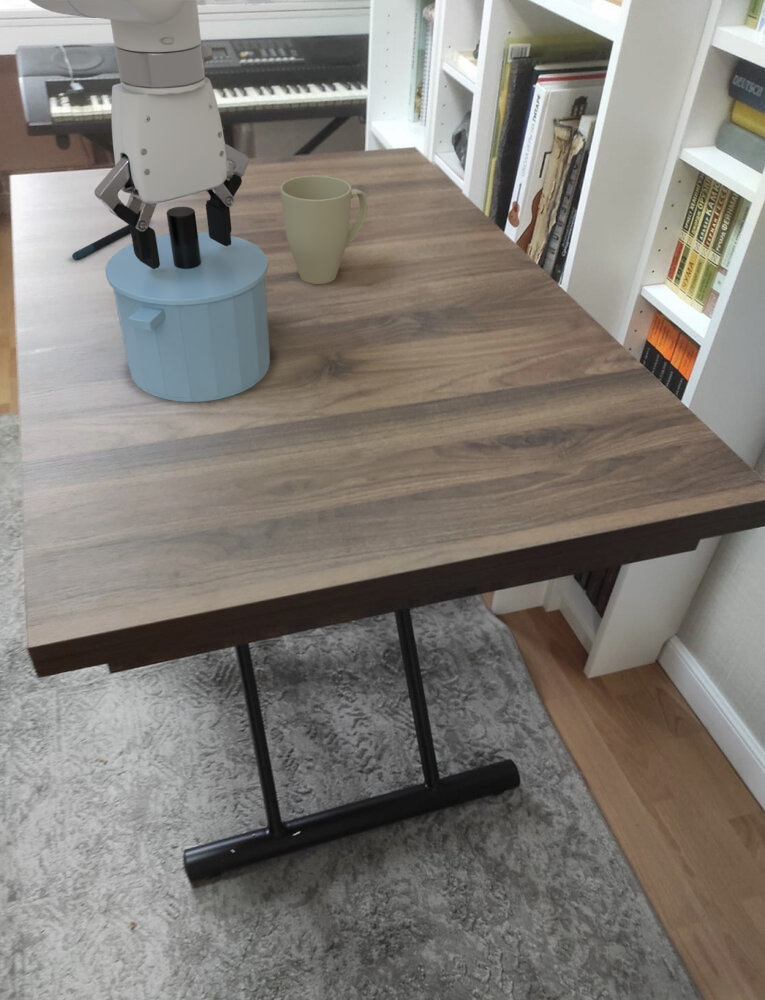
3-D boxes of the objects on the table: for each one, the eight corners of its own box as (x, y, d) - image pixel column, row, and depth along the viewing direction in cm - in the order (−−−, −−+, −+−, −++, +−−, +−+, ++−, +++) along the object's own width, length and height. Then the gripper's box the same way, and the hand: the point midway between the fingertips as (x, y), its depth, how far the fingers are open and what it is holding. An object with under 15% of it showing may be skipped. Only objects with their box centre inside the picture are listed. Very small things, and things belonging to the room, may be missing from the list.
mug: (349, 295, 109) (349, 204, 101) (276, 286, 110) (271, 196, 103) (367, 261, 117) (368, 174, 109) (299, 253, 119) (295, 167, 111)
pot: (89, 400, 89) (65, 300, 81) (181, 312, 104) (168, 222, 97) (224, 427, 85) (212, 326, 78) (298, 332, 101) (294, 241, 94)
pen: (150, 224, 126) (149, 216, 125) (78, 261, 115) (76, 253, 114) (144, 222, 126) (143, 214, 125) (72, 260, 115) (70, 251, 115)
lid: (75, 296, 83) (60, 230, 79) (156, 234, 96) (147, 174, 91) (227, 322, 80) (220, 255, 76) (291, 254, 92) (288, 194, 88)
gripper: (217, 46, 82) (233, 221, 93) (50, 72, 72) (90, 264, 84) (264, 60, 78) (275, 242, 89) (93, 91, 68) (129, 289, 80)
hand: (185, 252), depth 86 cm, fingers open, 8 cm apart
